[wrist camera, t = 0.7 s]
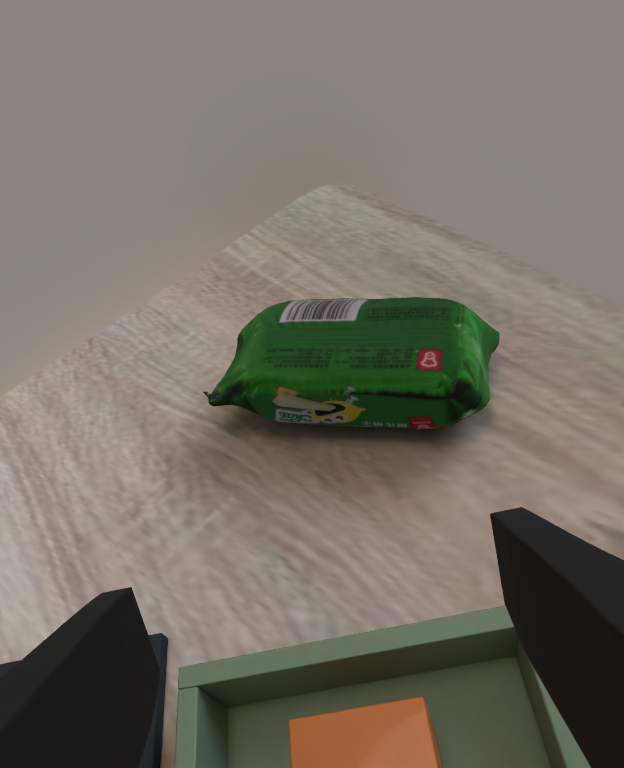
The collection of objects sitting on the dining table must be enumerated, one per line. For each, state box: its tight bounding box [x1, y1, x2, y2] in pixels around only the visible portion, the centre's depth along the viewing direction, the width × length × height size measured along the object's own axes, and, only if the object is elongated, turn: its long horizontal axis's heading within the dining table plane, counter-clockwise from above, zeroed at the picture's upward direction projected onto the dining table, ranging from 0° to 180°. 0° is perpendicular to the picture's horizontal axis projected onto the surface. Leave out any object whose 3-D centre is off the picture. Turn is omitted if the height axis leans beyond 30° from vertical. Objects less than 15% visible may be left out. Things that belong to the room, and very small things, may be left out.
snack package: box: [203, 297, 499, 429], centre depth 33 cm, size 7×16×5 cm, turn 77°
